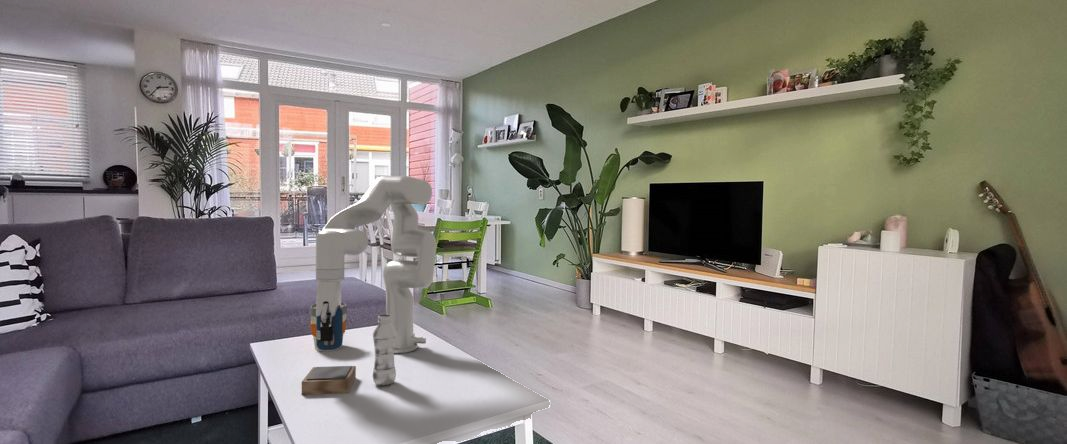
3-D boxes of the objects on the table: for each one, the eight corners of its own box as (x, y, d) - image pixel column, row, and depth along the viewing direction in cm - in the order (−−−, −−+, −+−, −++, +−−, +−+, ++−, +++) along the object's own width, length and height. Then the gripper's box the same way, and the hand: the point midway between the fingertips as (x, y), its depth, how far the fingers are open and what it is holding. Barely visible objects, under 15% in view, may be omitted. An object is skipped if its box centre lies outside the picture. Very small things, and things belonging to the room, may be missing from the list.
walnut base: (355, 377, 153) (355, 364, 153) (347, 393, 142) (347, 378, 141) (313, 379, 152) (313, 365, 151) (301, 394, 140) (301, 380, 140)
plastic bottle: (400, 381, 151) (401, 314, 150) (386, 389, 145) (387, 319, 144) (381, 378, 153) (382, 312, 152) (367, 386, 147) (368, 317, 146)
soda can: (334, 343, 151) (334, 302, 150) (347, 348, 146) (347, 306, 146) (311, 348, 145) (311, 306, 145) (324, 353, 141) (324, 309, 141)
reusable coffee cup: (334, 340, 192) (334, 300, 192) (354, 346, 185) (354, 305, 184) (302, 347, 182) (302, 305, 181) (322, 354, 175) (322, 311, 174)
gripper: (323, 270, 153) (323, 329, 154) (307, 279, 136) (307, 346, 137) (349, 270, 154) (349, 329, 155) (337, 279, 137) (337, 345, 138)
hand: (329, 336), depth 146 cm, fingers closed on soda can, 7 cm apart
